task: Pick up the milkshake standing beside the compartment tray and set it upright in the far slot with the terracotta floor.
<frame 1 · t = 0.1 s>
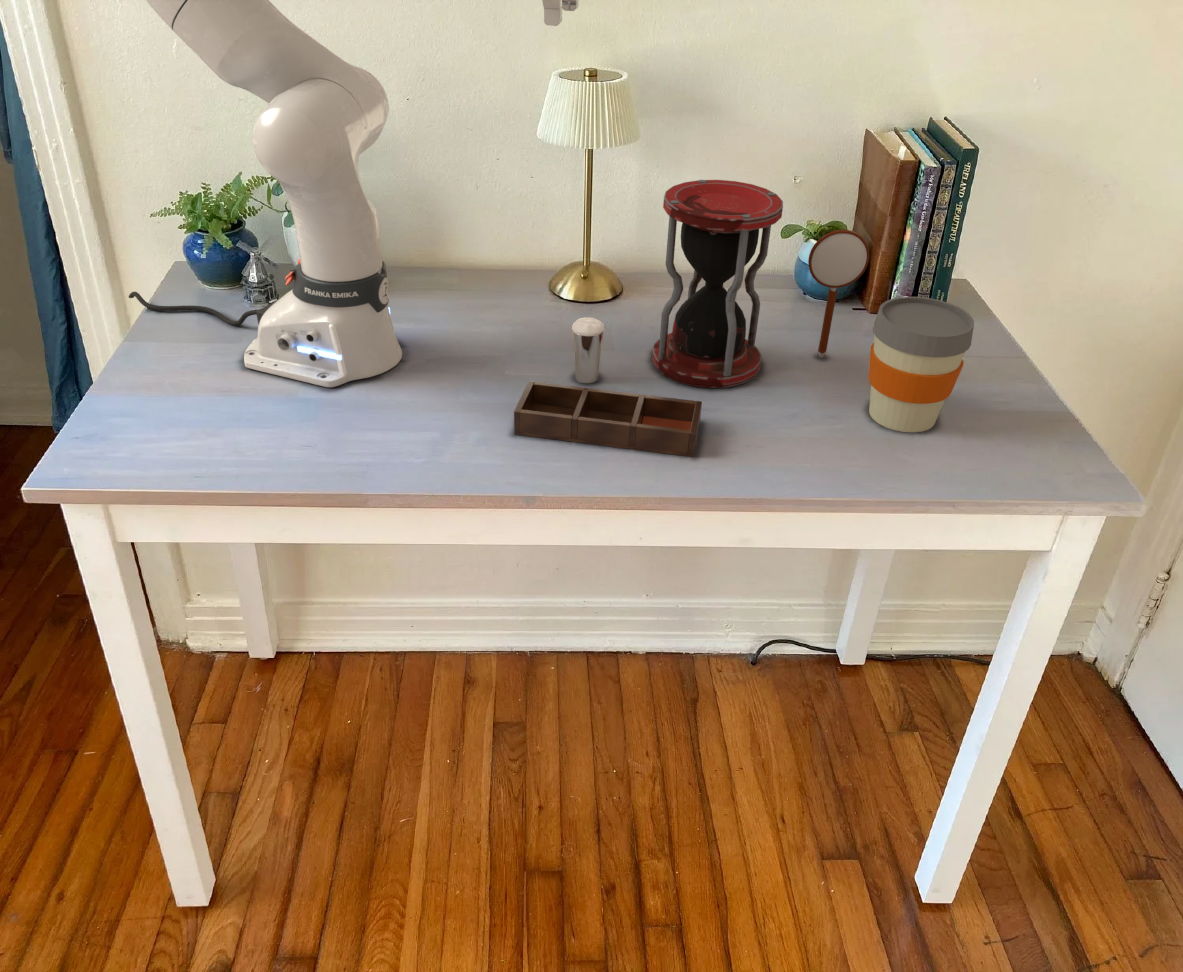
hand: (561, 16, 115), 48 cm above the table, tool pointing down, fingers open, 8 cm apart
compartment tray: (608, 429, 133), on the table
reusable coffee cup: (901, 416, 138), on the table
milkshake: (589, 379, 144), on the table
hourglass: (705, 363, 149), on the table
magnifying glass: (820, 358, 152), on the table
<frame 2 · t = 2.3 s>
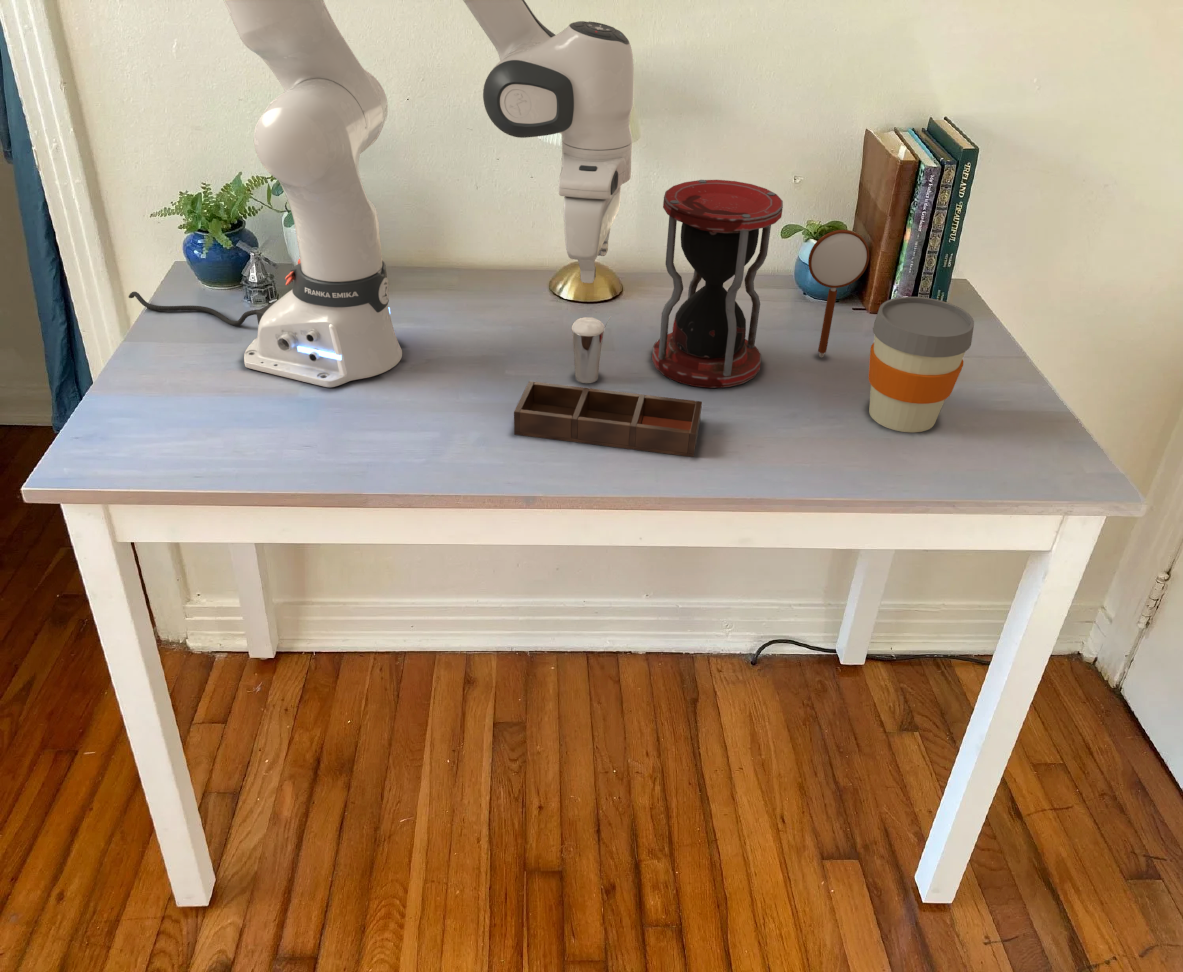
hand: (594, 267, 134), 17 cm above the table, tool pointing down, fingers open, 8 cm apart
nothing on the table moved.
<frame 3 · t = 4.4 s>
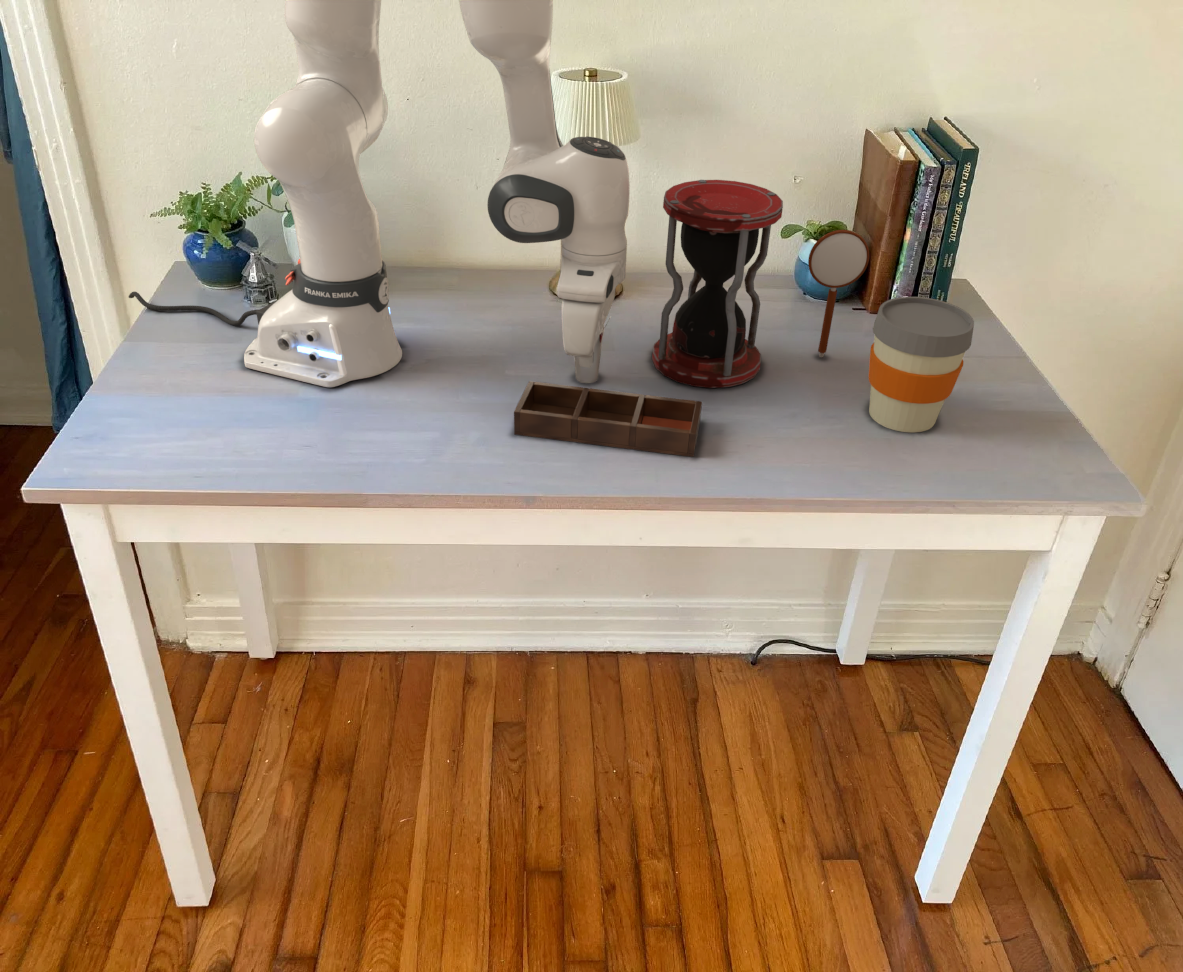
hand: (590, 356, 142), 4 cm above the table, tool pointing down, fingers closed on milkshake, 4 cm apart
milkshake: (589, 379, 144), on the table, touching gripper
everything else where it was.
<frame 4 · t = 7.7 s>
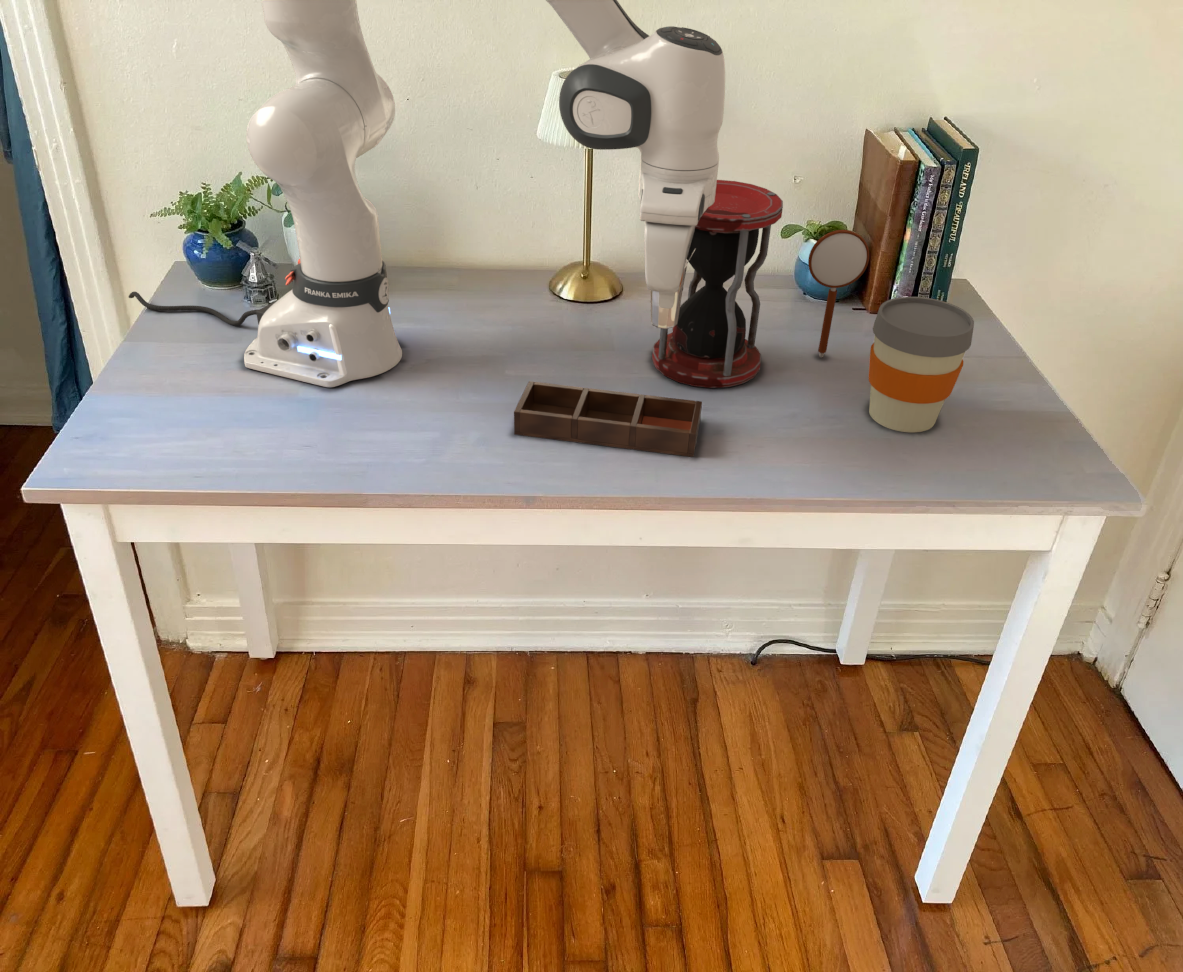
hand: (668, 296, 122), 19 cm above the table, tool pointing down, fingers closed on milkshake, 4 cm apart
milkshake: (667, 325, 124), point 15 cm above the table, touching gripper
everything else where it was.
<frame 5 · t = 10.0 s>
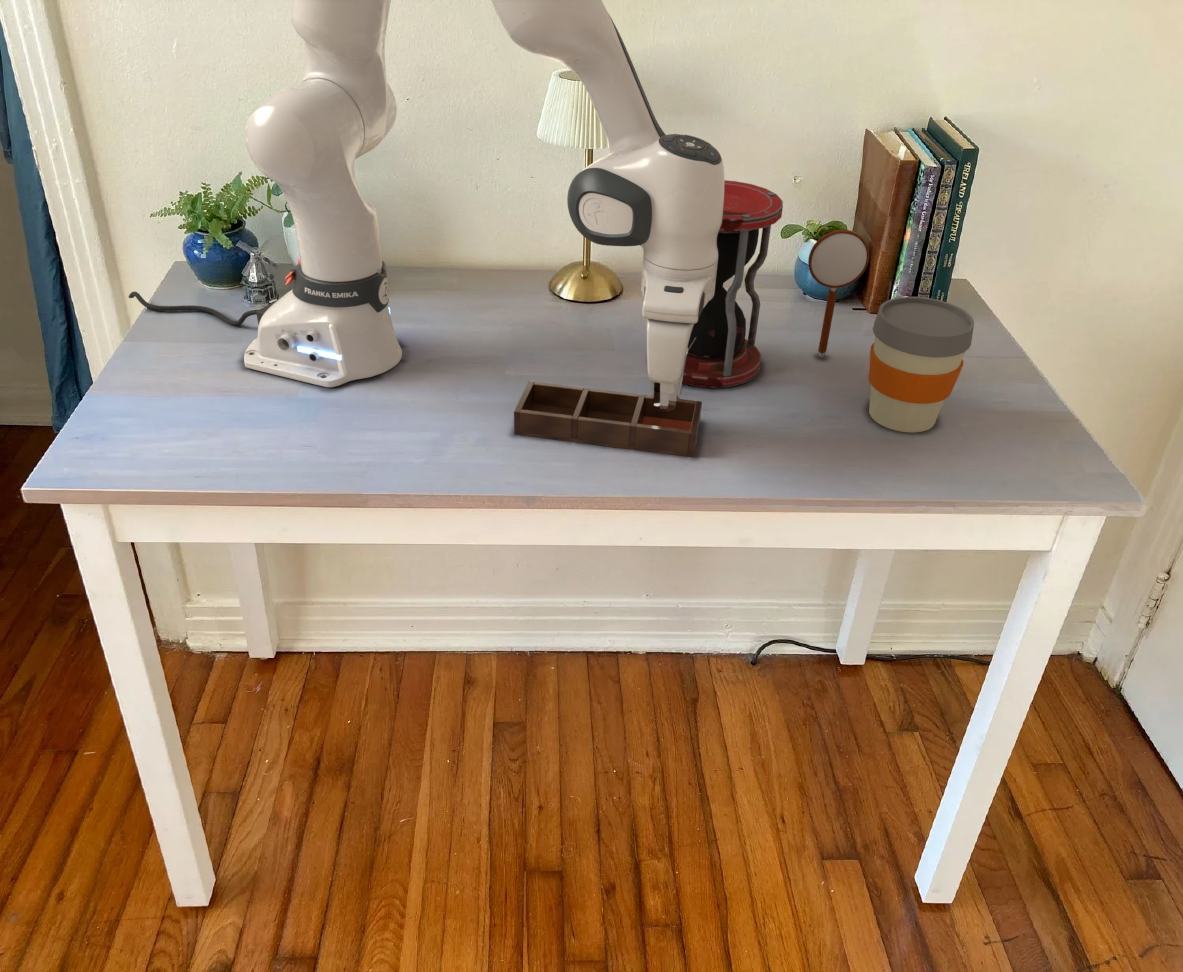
hand: (670, 380, 127), 8 cm above the table, tool pointing down, fingers closed on milkshake, 4 cm apart
milkshake: (668, 406, 129), point 4 cm above the table, touching gripper
everything else where it was.
when the fingers open (4 cm above the table, at t = 11.4 s): milkshake stays where it is, resting on compartment tray.
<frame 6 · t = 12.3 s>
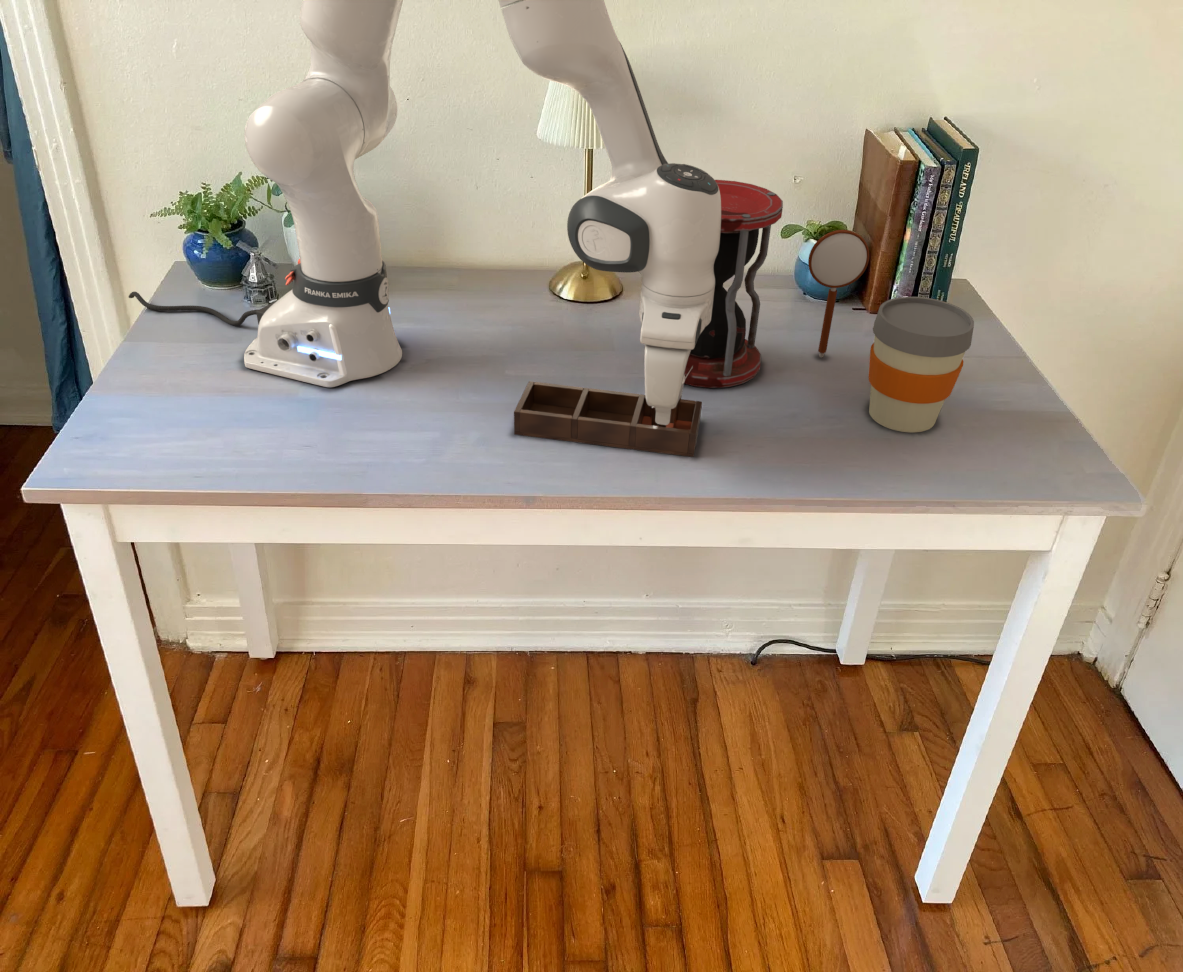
hand: (667, 403, 129), 5 cm above the table, tool pointing down, fingers open, 8 cm apart
milkshake: (665, 432, 131), point 1 cm above the table, touching compartment tray
everything else where it was.
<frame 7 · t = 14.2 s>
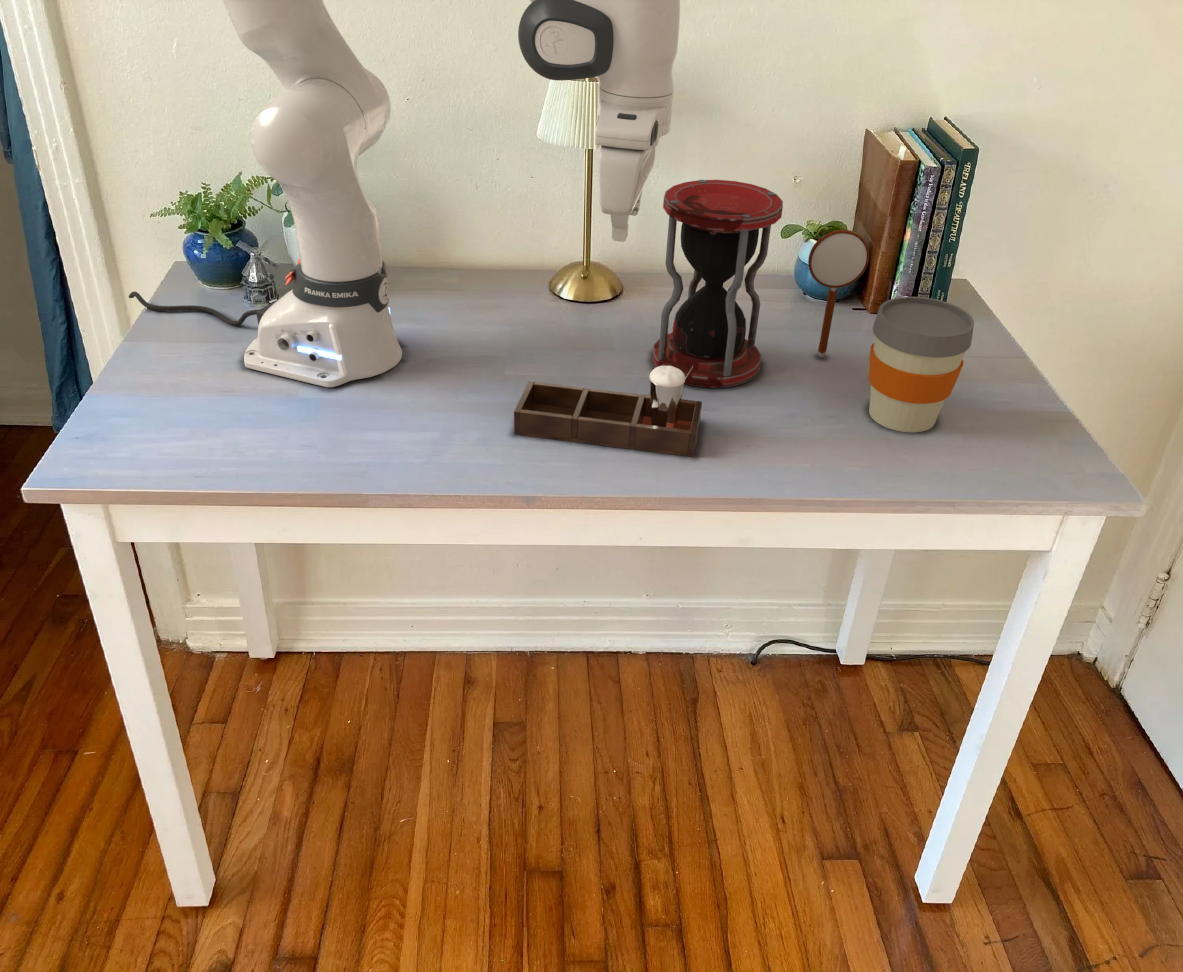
hand: (625, 226, 127), 24 cm above the table, tool pointing down, fingers open, 8 cm apart
nothing on the table moved.
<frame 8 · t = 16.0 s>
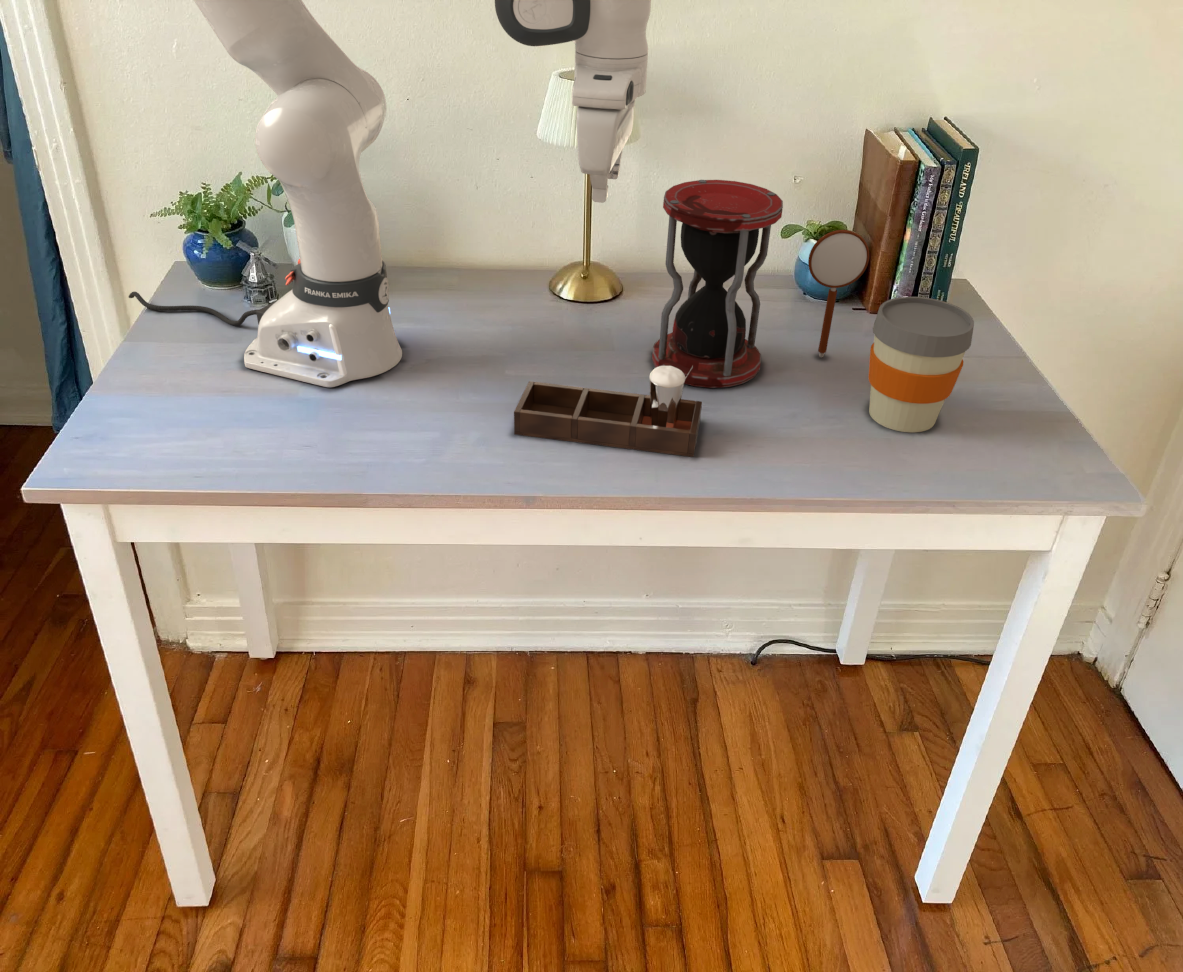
hand: (606, 188, 130), 27 cm above the table, tool pointing down, fingers open, 8 cm apart
nothing on the table moved.
at the end: milkshake 0.1 cm from the target spot in the compartment tray, point 0.5 cm above the compartment tray's base; milkshake tilted 0°; the gripper is holding nothing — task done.
